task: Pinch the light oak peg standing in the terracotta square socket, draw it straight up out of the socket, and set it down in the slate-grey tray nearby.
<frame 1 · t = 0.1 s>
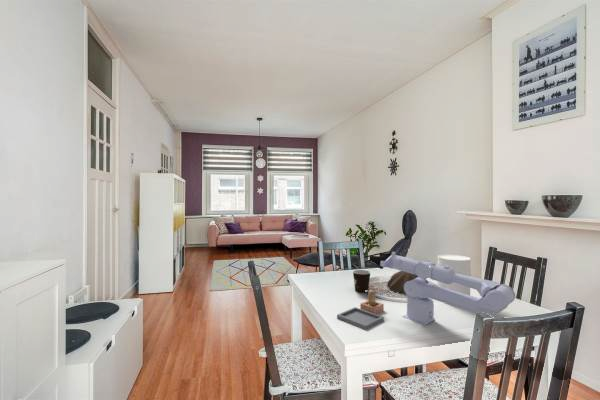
hand: (375, 256, 132), 22 cm above the table, tool horizontal, fingers open, 7 cm apart
canister: (453, 300, 139), on the table
slate tray: (360, 320, 117), on the table
decorative dome: (406, 289, 156), on the table
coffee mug: (361, 291, 152), on the table
oak peg: (371, 310, 126), resting on terracotta square socket
terracotta square socket: (371, 311, 126), on the table
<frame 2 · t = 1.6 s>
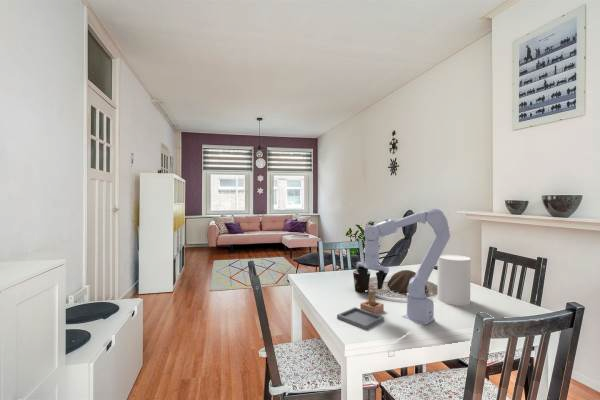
hand: (371, 286, 125), 10 cm above the table, tool pointing down, fingers open, 7 cm apart
nothing on the table moved.
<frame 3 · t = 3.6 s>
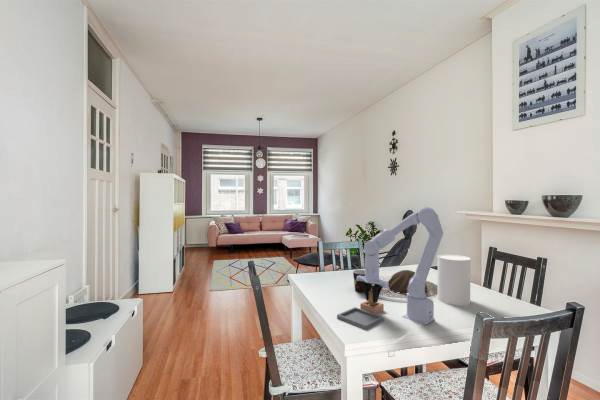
hand: (371, 300, 126), 4 cm above the table, tool pointing down, fingers closed on oak peg, 3 cm apart
oak peg: (371, 310, 126), resting on terracotta square socket, touching gripper
everything else where it was.
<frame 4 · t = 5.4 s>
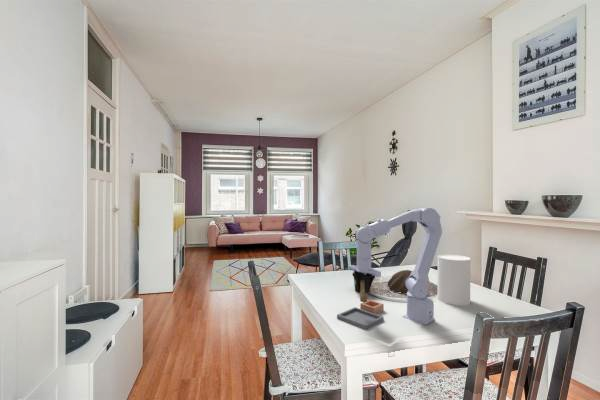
hand: (363, 291, 119), 10 cm above the table, tool pointing down, fingers closed on oak peg, 3 cm apart
oak peg: (363, 300, 119), point 7 cm above the table, touching gripper
everything else where it was.
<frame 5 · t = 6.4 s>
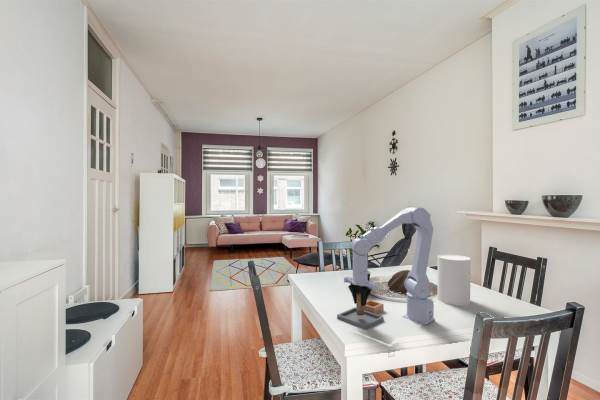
hand: (360, 304, 117), 6 cm above the table, tool pointing down, fingers closed on oak peg, 3 cm apart
oak peg: (360, 314, 117), point 2 cm above the table, touching gripper
everything else where it was.
when the fingers open (6 cm above the table, at t = 7.2 s): oak peg drops 1 cm, resting on slate tray.
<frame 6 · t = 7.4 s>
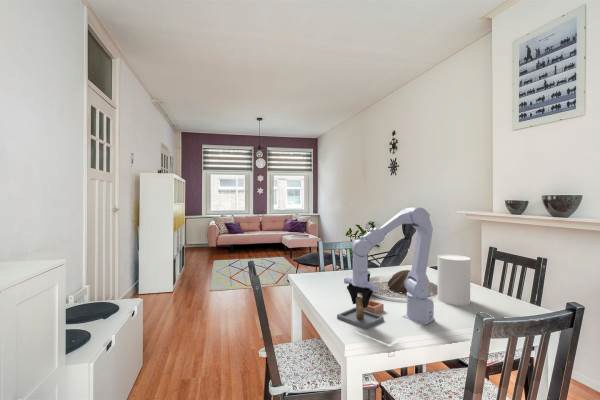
hand: (360, 305, 117), 6 cm above the table, tool pointing down, fingers open, 4 cm apart
oak peg: (360, 318, 117), point 1 cm above the table, touching slate tray
everything else where it was.
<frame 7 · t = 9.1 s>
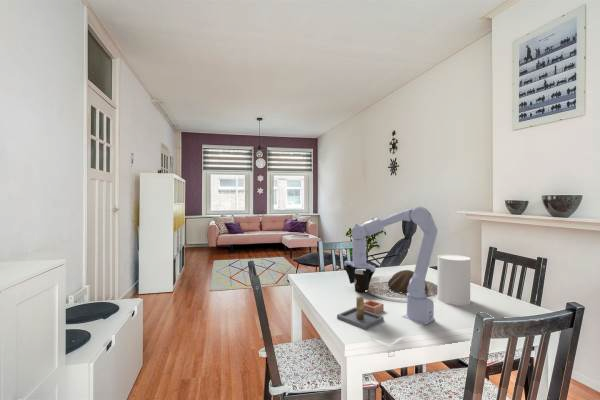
hand: (359, 285, 128), 10 cm above the table, tool pointing down, fingers open, 7 cm apart
nothing on the table moved.
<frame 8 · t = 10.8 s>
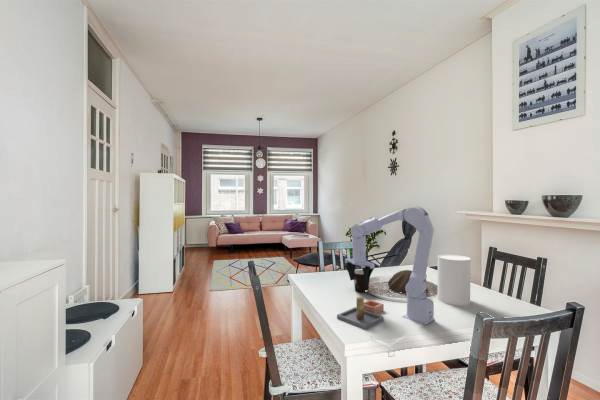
hand: (359, 281, 133), 10 cm above the table, tool pointing down, fingers open, 7 cm apart
nothing on the table moved.
at the end: oak peg inside the target area on the slate tray (0.0 cm from its centre), point 0.8 cm above the slate tray's base; oak peg touching slate tray; the gripper is holding nothing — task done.
